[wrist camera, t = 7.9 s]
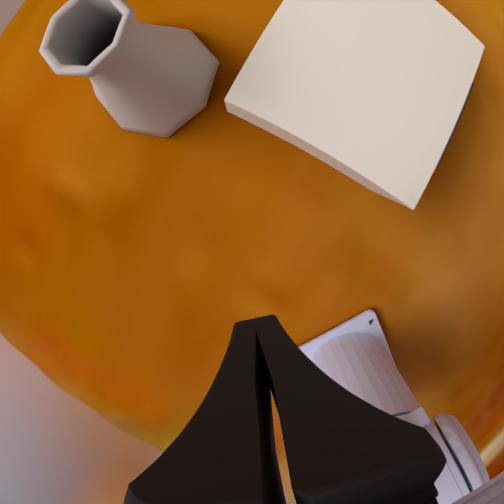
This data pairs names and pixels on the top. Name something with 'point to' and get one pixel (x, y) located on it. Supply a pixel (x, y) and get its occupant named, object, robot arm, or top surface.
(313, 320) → the top surface
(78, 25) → the flask
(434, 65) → the socket block
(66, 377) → the top surface
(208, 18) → the top surface
